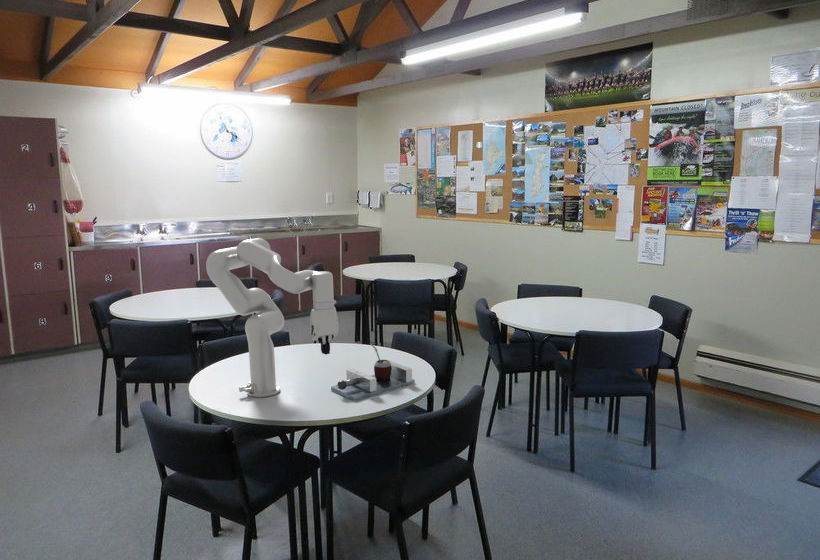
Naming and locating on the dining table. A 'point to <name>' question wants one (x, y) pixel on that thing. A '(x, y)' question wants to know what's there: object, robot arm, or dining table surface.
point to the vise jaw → (358, 380)
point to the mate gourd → (382, 369)
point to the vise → (379, 384)
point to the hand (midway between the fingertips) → (325, 353)
